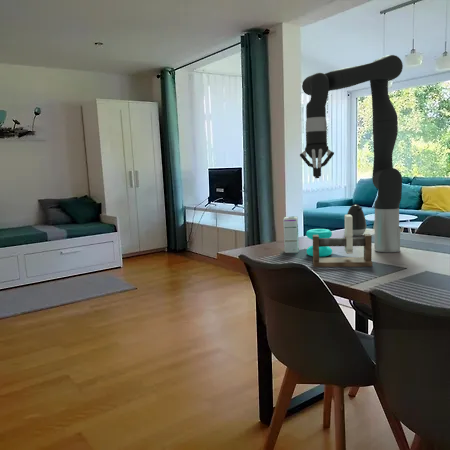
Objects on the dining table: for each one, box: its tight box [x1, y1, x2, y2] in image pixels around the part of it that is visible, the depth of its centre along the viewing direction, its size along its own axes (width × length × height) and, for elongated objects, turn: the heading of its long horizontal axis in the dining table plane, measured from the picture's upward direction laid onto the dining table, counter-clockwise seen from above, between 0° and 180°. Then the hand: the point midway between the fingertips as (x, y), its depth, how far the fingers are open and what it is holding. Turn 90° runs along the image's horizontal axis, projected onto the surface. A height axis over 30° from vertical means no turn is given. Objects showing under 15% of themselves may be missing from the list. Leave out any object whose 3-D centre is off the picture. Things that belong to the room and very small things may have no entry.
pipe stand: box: [312, 233, 374, 268], centre depth 155 cm, size 20×8×10 cm, turn 81°
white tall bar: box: [344, 214, 354, 255], centre depth 154 cm, size 2×7×13 cm, turn 171°
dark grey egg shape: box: [346, 204, 367, 237], centre depth 212 cm, size 10×10×15 cm
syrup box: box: [282, 216, 300, 254], centre depth 180 cm, size 6×6×14 cm
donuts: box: [305, 228, 333, 258], centre depth 172 cm, size 10×10×10 cm
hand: (317, 178), depth 161 cm, fingers closed
